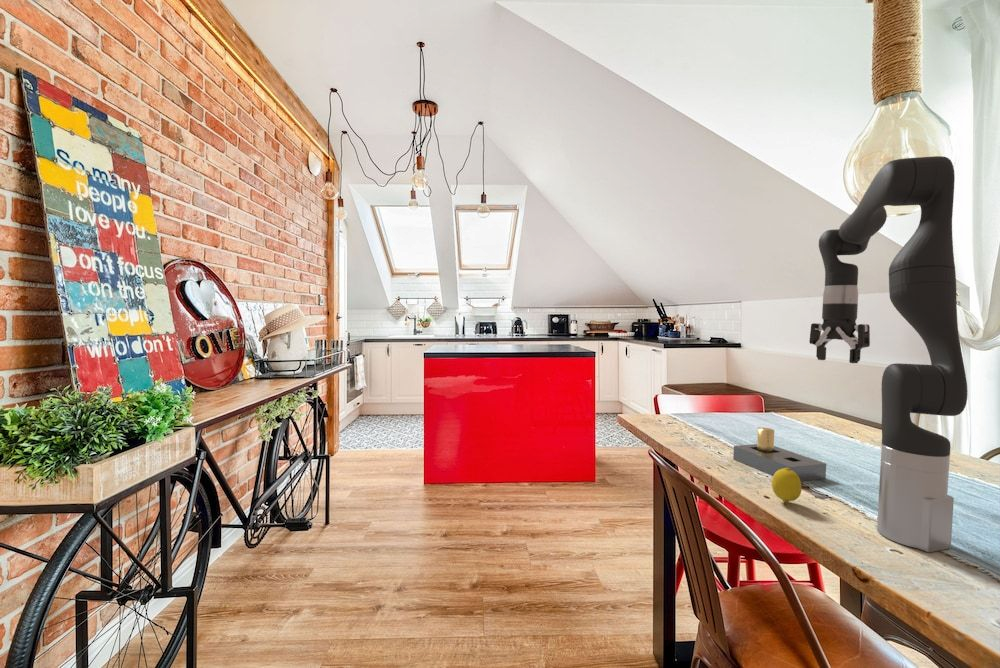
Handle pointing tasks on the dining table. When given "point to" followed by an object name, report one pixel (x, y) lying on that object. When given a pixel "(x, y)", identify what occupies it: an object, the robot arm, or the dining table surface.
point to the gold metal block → (765, 440)
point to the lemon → (786, 485)
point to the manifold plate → (780, 462)
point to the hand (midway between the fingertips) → (837, 361)
